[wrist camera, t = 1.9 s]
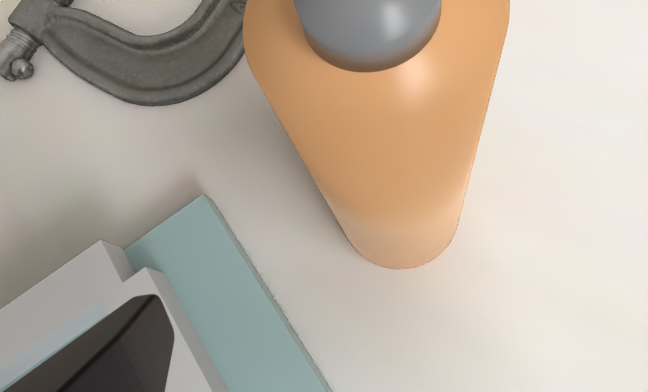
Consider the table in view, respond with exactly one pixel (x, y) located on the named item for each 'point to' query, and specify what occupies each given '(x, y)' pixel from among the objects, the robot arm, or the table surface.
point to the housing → (169, 309)
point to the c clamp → (129, 50)
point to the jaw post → (382, 108)
